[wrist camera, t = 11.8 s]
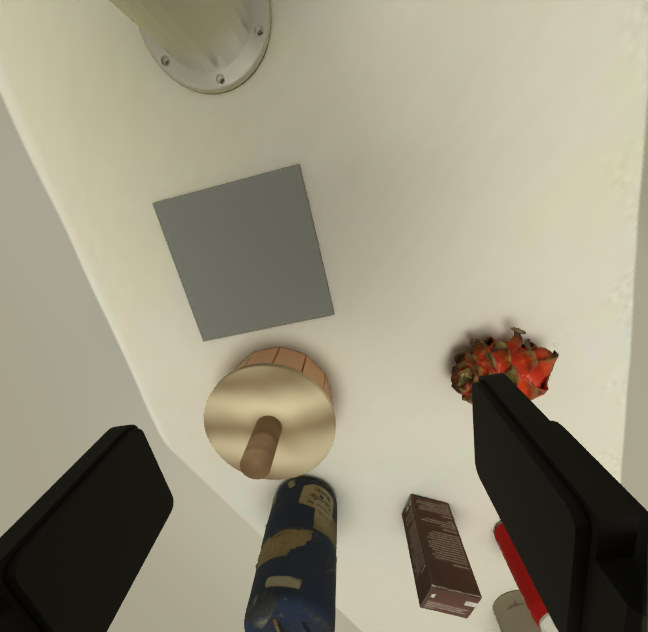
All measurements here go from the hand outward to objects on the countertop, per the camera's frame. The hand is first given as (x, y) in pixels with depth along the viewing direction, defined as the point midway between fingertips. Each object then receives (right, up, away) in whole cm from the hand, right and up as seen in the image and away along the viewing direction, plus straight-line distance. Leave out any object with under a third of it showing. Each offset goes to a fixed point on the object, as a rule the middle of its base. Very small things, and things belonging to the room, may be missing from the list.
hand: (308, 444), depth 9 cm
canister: (-2, -24, +40) cm, 46 cm away
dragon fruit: (+21, -1, +31) cm, 37 cm away
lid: (-6, -9, +28) cm, 30 cm away
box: (+15, -25, +39) cm, 49 cm away
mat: (-8, +10, +29) cm, 32 cm away
